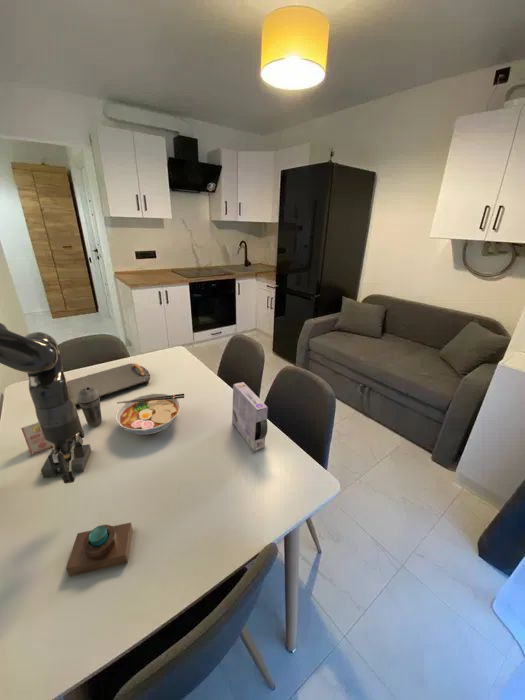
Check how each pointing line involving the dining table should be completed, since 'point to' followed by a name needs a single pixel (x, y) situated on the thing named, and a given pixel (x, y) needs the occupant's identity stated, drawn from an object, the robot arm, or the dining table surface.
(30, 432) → the pink printed box
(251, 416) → the cake pan box
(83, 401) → the beverage cup
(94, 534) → the button
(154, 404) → the ramen bowl
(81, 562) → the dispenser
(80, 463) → the dial panel
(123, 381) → the serving tray
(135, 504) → the dining table surface
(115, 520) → the dining table surface
